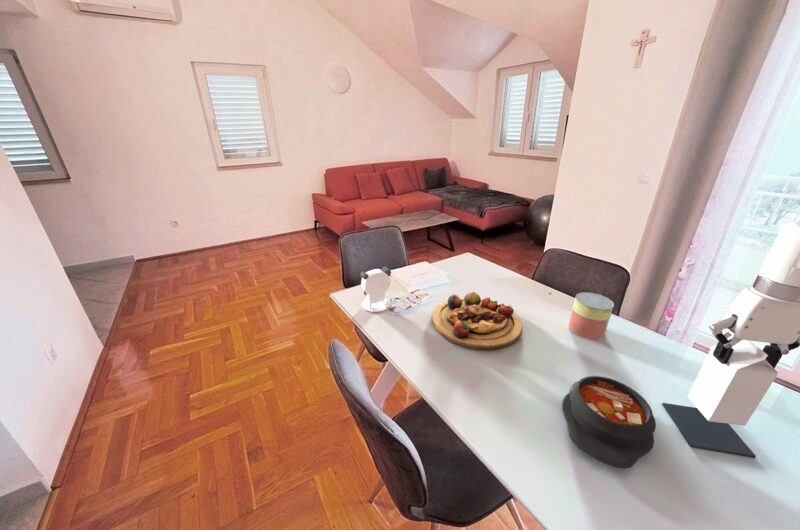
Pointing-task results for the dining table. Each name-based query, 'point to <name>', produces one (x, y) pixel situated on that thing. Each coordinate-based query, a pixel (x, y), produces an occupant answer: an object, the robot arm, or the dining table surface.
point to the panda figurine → (375, 289)
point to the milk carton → (732, 384)
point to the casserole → (609, 421)
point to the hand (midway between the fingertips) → (741, 362)
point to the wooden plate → (477, 322)
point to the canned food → (590, 315)
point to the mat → (706, 431)
